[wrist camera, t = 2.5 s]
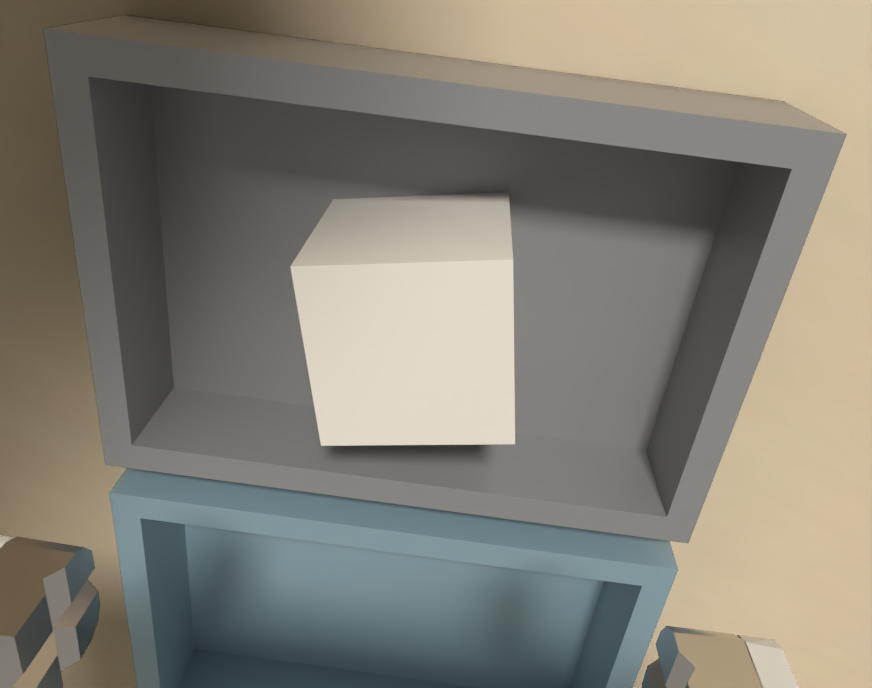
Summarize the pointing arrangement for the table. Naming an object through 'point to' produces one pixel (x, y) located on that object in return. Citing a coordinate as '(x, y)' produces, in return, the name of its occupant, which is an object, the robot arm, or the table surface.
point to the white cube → (410, 320)
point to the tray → (419, 176)
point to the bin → (373, 592)
